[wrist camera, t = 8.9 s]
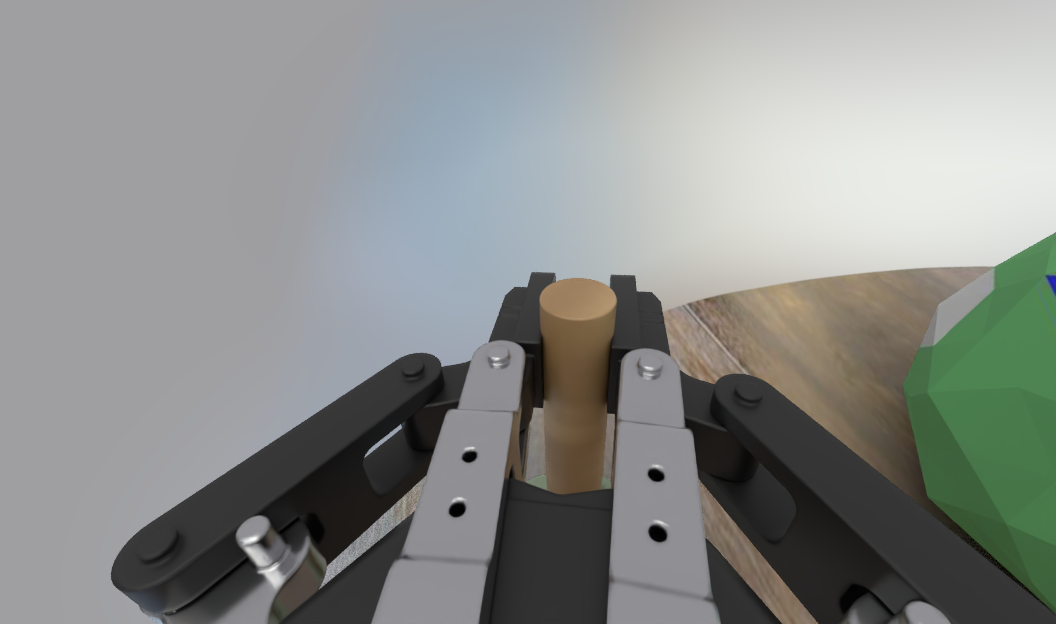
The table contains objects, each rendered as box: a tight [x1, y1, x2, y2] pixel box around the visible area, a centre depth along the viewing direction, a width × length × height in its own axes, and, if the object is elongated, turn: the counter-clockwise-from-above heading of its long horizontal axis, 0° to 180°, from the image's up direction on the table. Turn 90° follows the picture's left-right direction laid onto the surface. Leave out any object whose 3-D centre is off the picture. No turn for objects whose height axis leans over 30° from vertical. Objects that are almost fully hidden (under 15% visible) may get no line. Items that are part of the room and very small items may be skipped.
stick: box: [539, 278, 617, 494], centre depth 15 cm, size 2×2×18 cm
